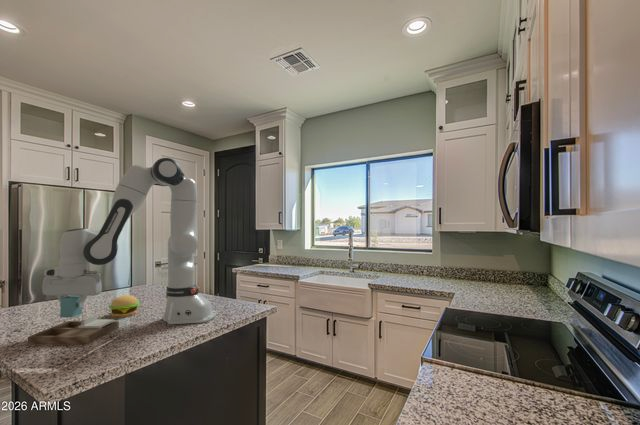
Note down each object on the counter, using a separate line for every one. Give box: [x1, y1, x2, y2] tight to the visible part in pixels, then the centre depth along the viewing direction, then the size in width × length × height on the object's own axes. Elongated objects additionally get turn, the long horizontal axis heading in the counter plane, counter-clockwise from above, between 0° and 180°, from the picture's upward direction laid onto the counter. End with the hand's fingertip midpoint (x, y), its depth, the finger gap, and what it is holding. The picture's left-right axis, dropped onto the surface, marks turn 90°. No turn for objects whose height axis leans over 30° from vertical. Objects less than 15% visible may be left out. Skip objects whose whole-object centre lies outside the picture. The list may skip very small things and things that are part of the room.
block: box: [59, 295, 83, 318], centre depth 110 cm, size 4×4×7 cm
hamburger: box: [108, 294, 141, 318], centre depth 135 cm, size 12×12×9 cm
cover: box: [78, 314, 115, 328], centre depth 111 cm, size 8×8×3 cm
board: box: [27, 320, 120, 346], centre depth 107 cm, size 20×16×4 cm
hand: (71, 306), depth 110 cm, fingers closed on block, 4 cm apart
